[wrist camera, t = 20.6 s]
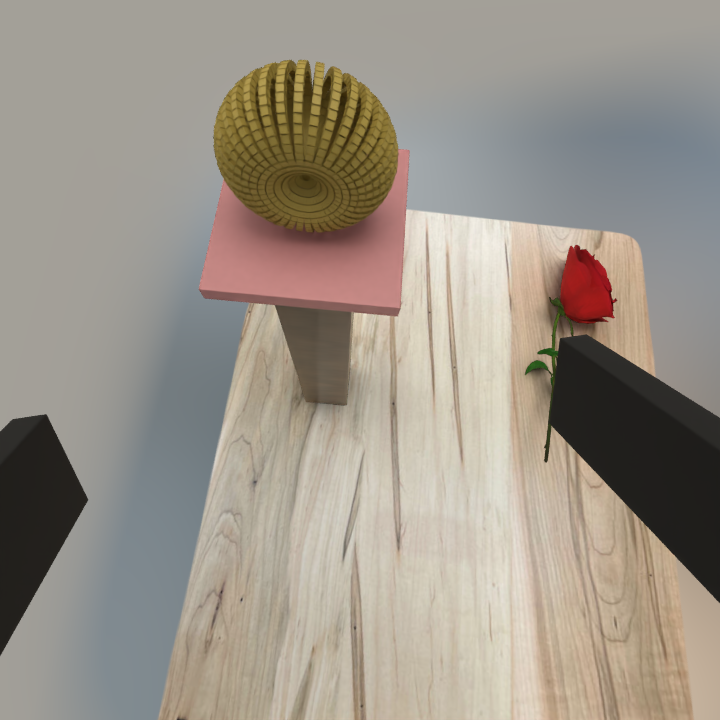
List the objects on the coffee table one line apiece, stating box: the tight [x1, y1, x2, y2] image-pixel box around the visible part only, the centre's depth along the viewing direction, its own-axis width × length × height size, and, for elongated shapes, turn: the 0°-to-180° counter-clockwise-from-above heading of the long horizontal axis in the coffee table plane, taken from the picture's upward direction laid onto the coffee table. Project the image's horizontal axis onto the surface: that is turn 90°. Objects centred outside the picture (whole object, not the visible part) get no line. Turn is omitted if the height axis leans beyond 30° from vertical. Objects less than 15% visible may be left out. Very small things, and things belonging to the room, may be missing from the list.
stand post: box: [275, 305, 354, 405], centre depth 39 cm, size 5×5×32 cm
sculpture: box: [213, 60, 399, 232], centre depth 19 cm, size 8×4×8 cm, turn 87°
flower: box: [525, 245, 617, 463], centre depth 53 cm, size 9×10×30 cm
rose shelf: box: [199, 149, 409, 316], centre depth 24 cm, size 10×10×1 cm
